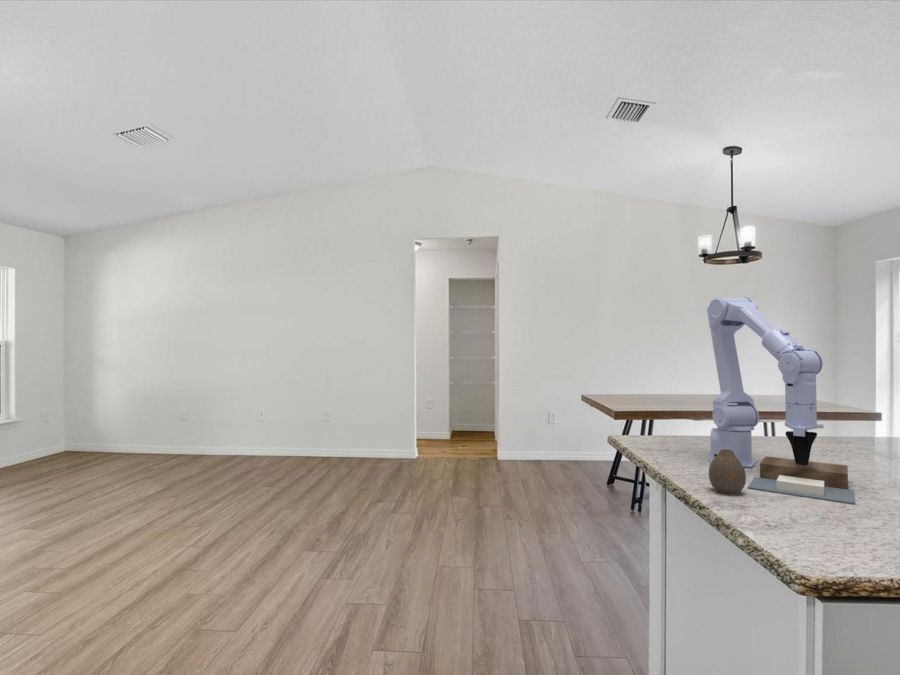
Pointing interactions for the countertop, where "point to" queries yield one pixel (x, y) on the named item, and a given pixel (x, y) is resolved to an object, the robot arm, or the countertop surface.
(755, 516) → the countertop surface
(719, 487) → the vase
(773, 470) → the block
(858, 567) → the countertop surface
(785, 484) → the tile
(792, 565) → the countertop surface
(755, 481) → the mat
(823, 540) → the countertop surface
